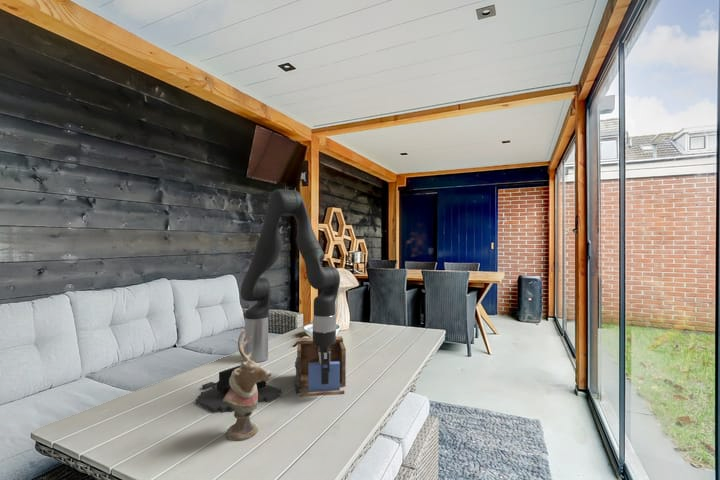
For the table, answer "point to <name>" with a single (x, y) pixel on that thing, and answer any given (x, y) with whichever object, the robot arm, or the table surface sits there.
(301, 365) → the cabinet
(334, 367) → the blue rectangular block
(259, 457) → the table surface
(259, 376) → the decorative bust
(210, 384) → the abstract sculpture
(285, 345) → the table surface
